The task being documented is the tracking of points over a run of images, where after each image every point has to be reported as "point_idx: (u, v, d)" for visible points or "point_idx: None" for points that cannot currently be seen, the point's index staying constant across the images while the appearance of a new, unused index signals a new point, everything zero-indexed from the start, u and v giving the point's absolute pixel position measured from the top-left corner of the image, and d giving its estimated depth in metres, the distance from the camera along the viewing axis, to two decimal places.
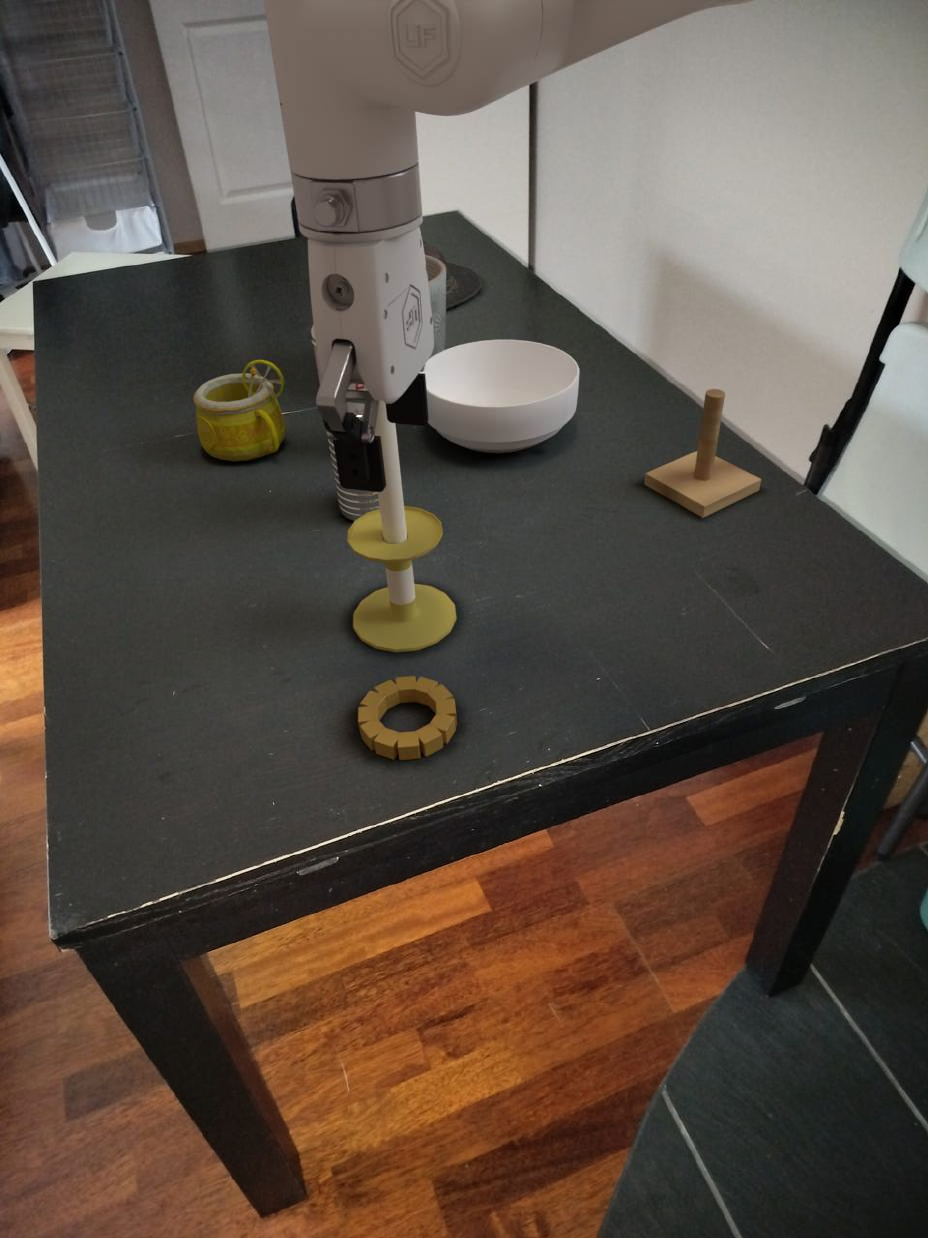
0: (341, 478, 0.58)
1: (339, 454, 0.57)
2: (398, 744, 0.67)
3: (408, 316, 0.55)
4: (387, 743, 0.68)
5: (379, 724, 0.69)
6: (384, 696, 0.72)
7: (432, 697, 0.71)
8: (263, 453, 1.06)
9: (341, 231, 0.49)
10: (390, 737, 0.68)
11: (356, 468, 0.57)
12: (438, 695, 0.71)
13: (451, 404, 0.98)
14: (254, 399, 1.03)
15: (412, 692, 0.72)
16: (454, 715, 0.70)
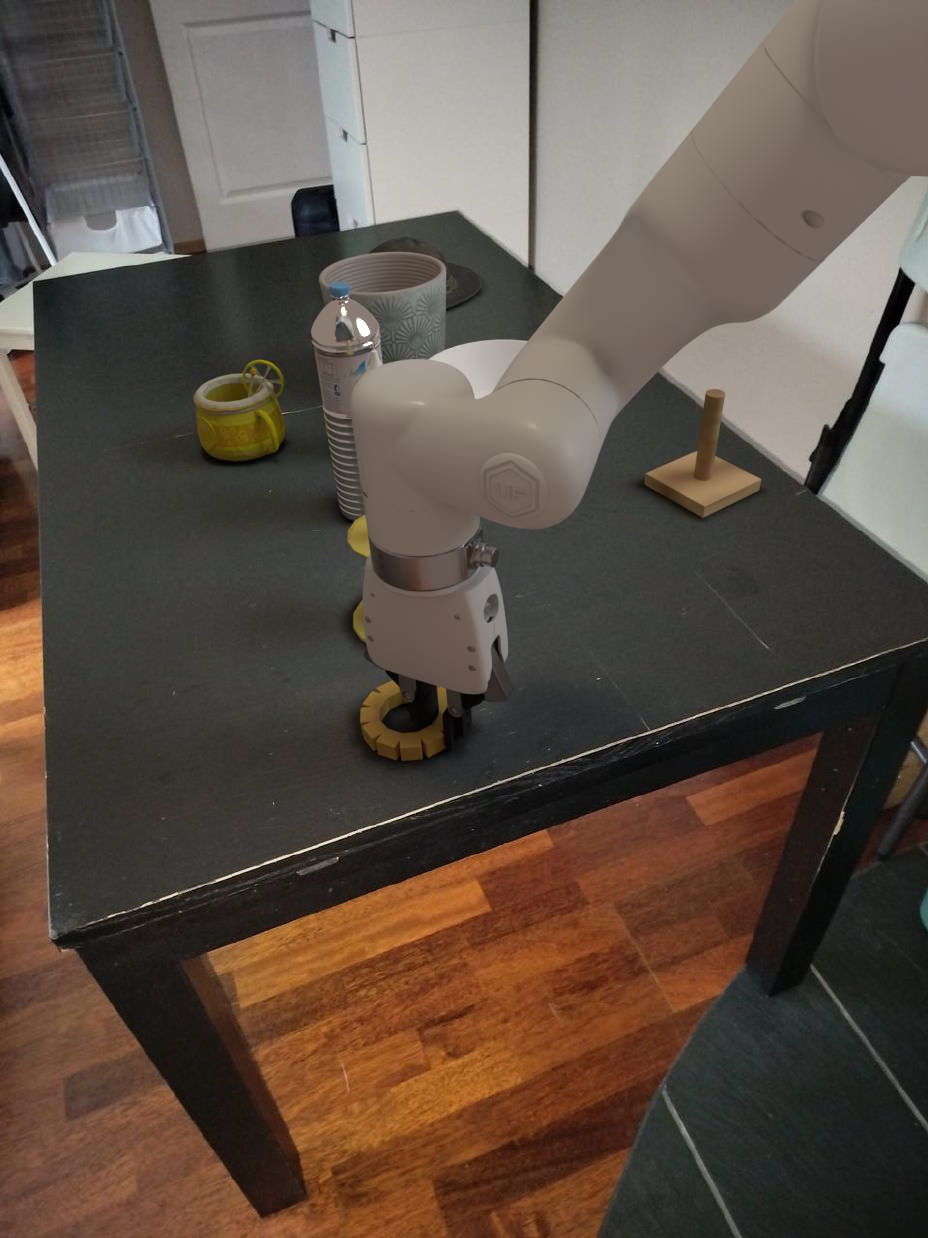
0: (452, 744, 0.68)
1: (451, 727, 0.67)
2: (400, 745, 0.67)
3: None
4: (389, 744, 0.67)
5: (381, 725, 0.69)
6: (386, 697, 0.71)
7: None
8: (263, 453, 1.06)
9: (477, 566, 0.58)
10: (392, 738, 0.68)
11: (467, 722, 0.68)
12: (440, 696, 0.71)
13: None
14: (254, 399, 1.03)
15: None
16: None
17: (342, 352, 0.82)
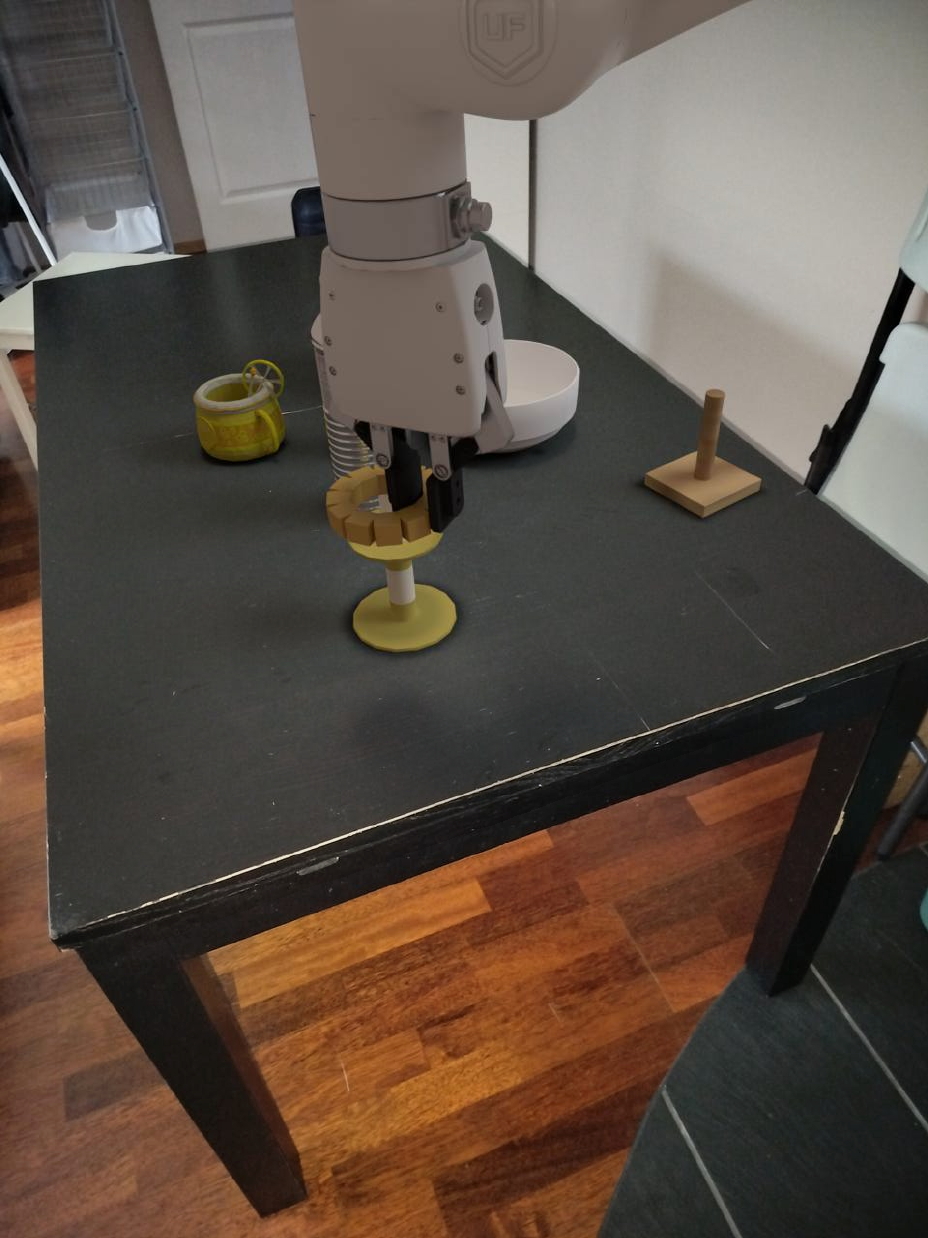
0: (439, 524, 0.55)
1: (438, 498, 0.53)
2: (374, 523, 0.54)
3: None
4: (361, 523, 0.54)
5: (352, 506, 0.56)
6: (359, 481, 0.58)
7: None
8: (263, 453, 1.06)
9: (465, 240, 0.44)
10: (365, 517, 0.55)
11: (458, 495, 0.54)
12: (425, 478, 0.58)
13: None
14: (254, 399, 1.03)
15: None
16: None
17: None
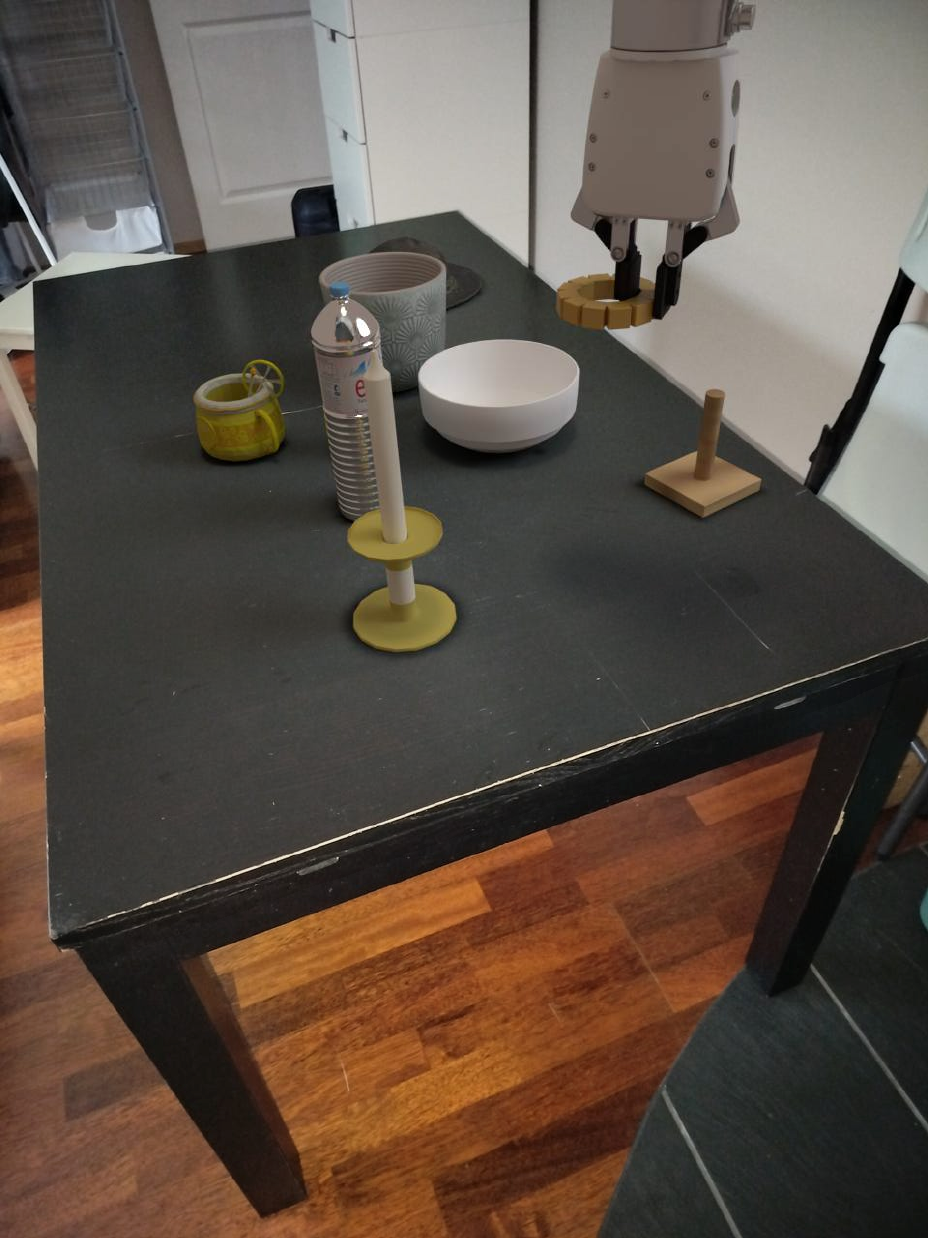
0: (662, 310, 0.65)
1: (664, 285, 0.64)
2: (609, 307, 0.64)
3: None
4: (598, 307, 0.64)
5: (584, 298, 0.66)
6: (581, 284, 0.69)
7: None
8: (263, 453, 1.06)
9: None
10: (599, 304, 0.65)
11: (678, 286, 0.65)
12: None
13: (451, 404, 0.98)
14: (254, 399, 1.03)
15: (608, 284, 0.69)
16: None
17: (342, 352, 0.82)
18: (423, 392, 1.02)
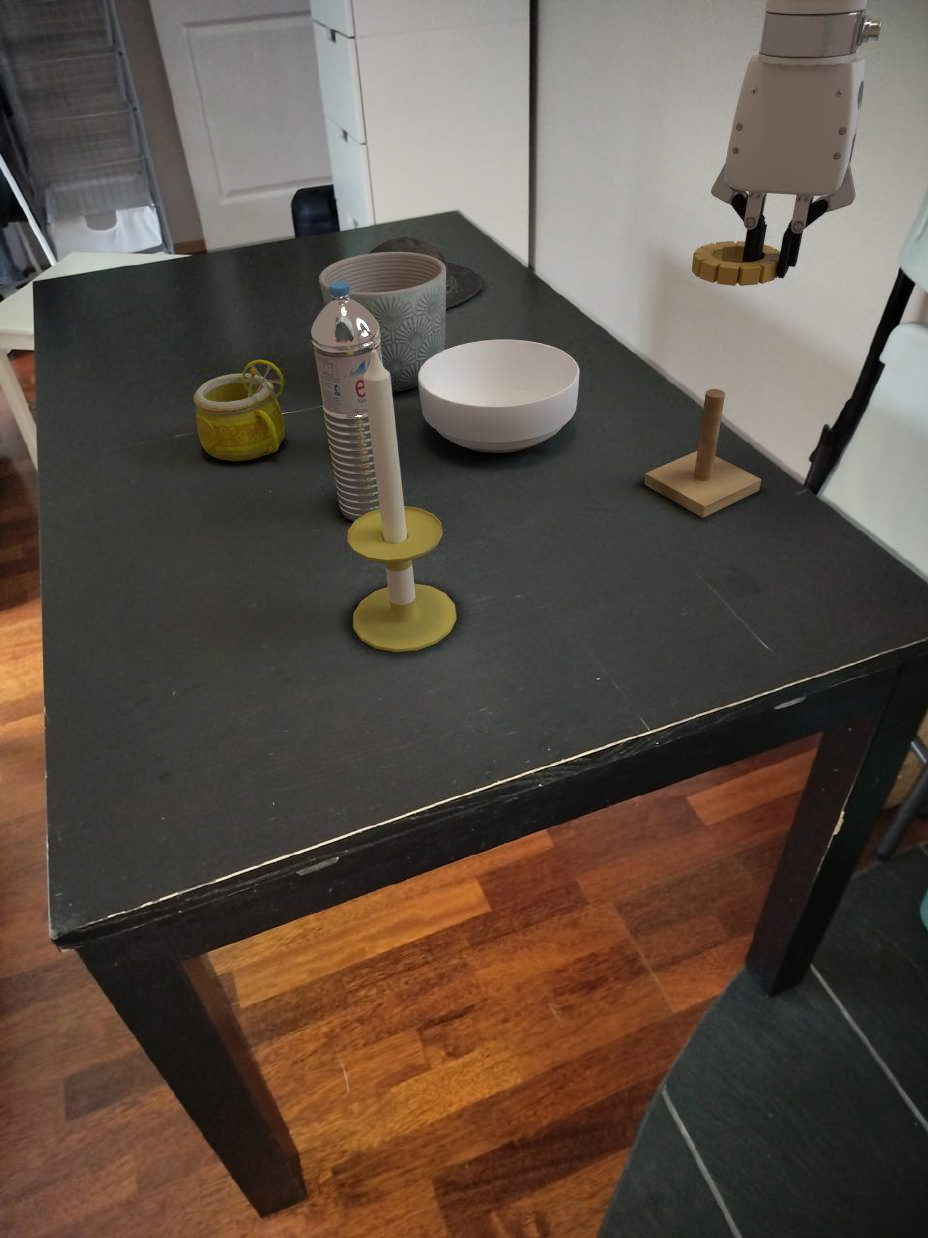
0: (784, 270, 0.79)
1: (789, 248, 0.78)
2: (742, 267, 0.78)
3: None
4: (732, 266, 0.78)
5: (718, 260, 0.80)
6: (713, 249, 0.82)
7: None
8: (263, 453, 1.06)
9: (856, 49, 0.68)
10: (733, 264, 0.79)
11: (798, 250, 0.79)
12: None
13: (451, 404, 0.98)
14: (254, 399, 1.03)
15: (734, 250, 0.83)
16: None
17: (342, 352, 0.82)
18: (423, 392, 1.02)
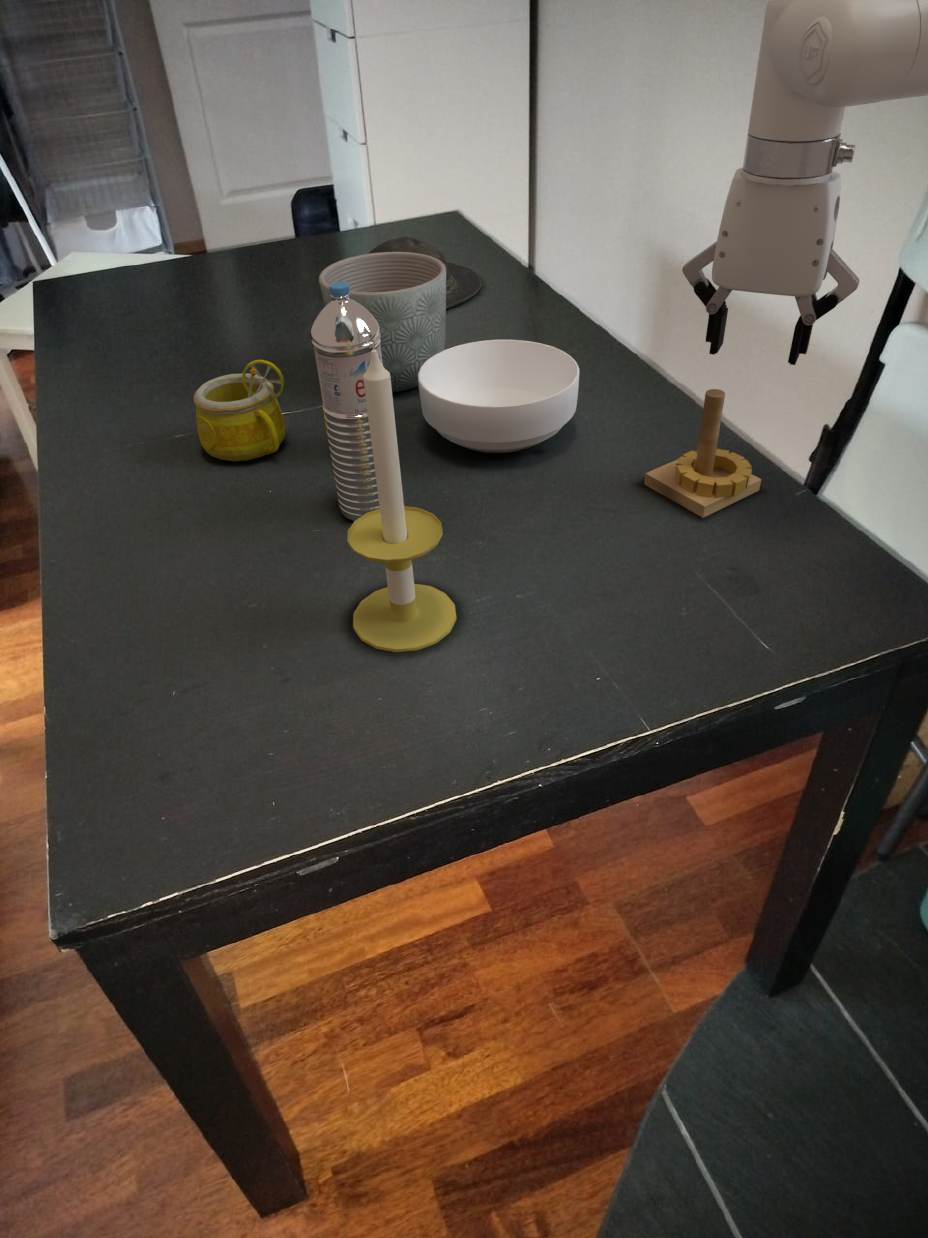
0: (796, 357, 0.83)
1: (800, 338, 0.82)
2: (717, 483, 0.92)
3: None
4: (708, 483, 0.92)
5: (697, 473, 0.94)
6: (693, 459, 0.96)
7: (729, 459, 0.96)
8: (263, 453, 1.06)
9: (832, 168, 0.74)
10: (709, 480, 0.93)
11: (809, 339, 0.83)
12: (734, 457, 0.96)
13: (451, 404, 0.98)
14: (254, 399, 1.03)
15: None
16: (750, 469, 0.95)
17: (342, 352, 0.82)
18: (423, 392, 1.02)
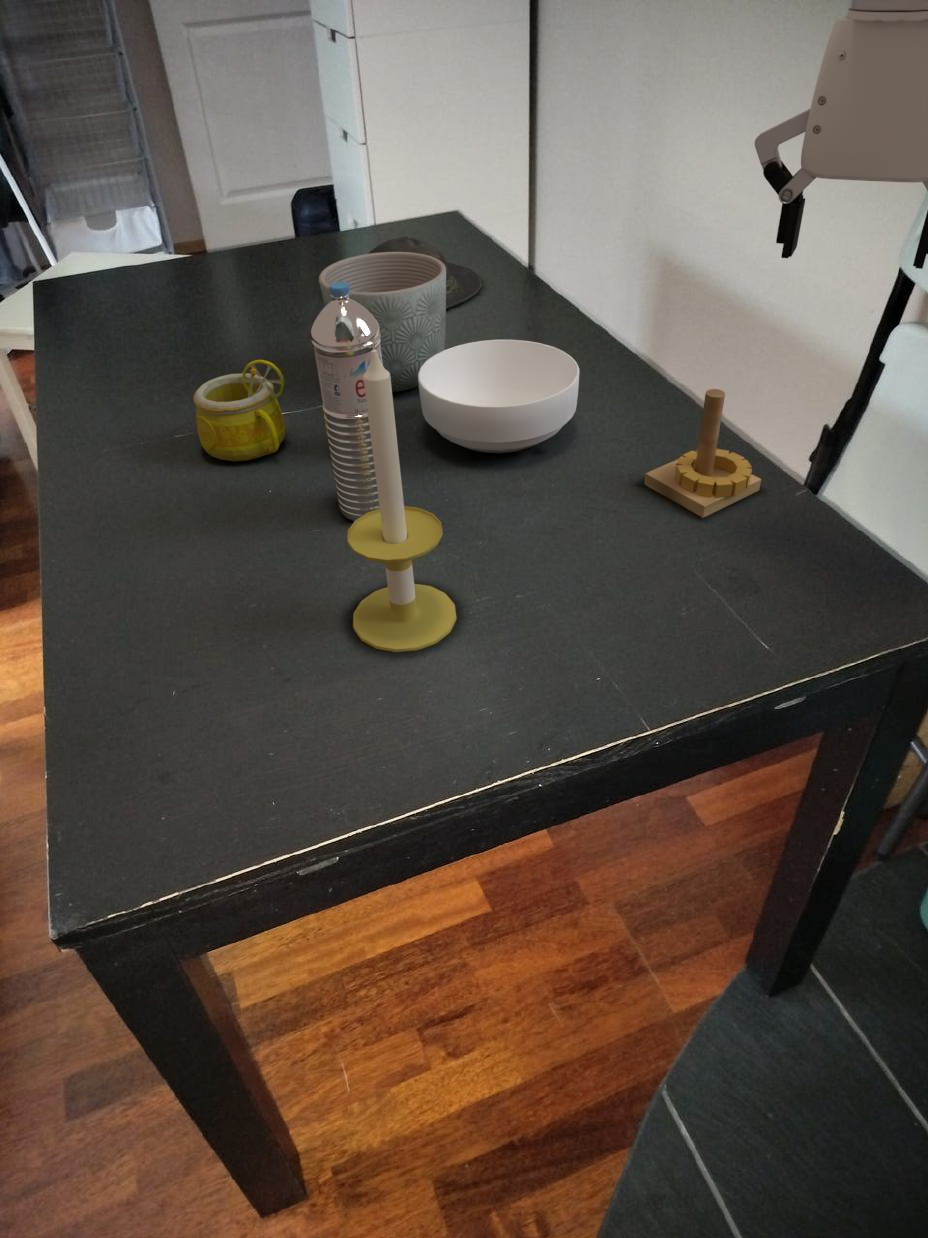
0: None
1: None
2: (717, 483, 0.92)
3: None
4: (708, 483, 0.92)
5: (697, 473, 0.94)
6: (693, 459, 0.96)
7: (729, 459, 0.96)
8: (263, 453, 1.06)
9: None
10: (709, 480, 0.93)
11: None
12: (734, 457, 0.96)
13: (451, 404, 0.98)
14: (254, 399, 1.03)
15: None
16: (750, 469, 0.95)
17: (342, 352, 0.82)
18: (423, 392, 1.02)
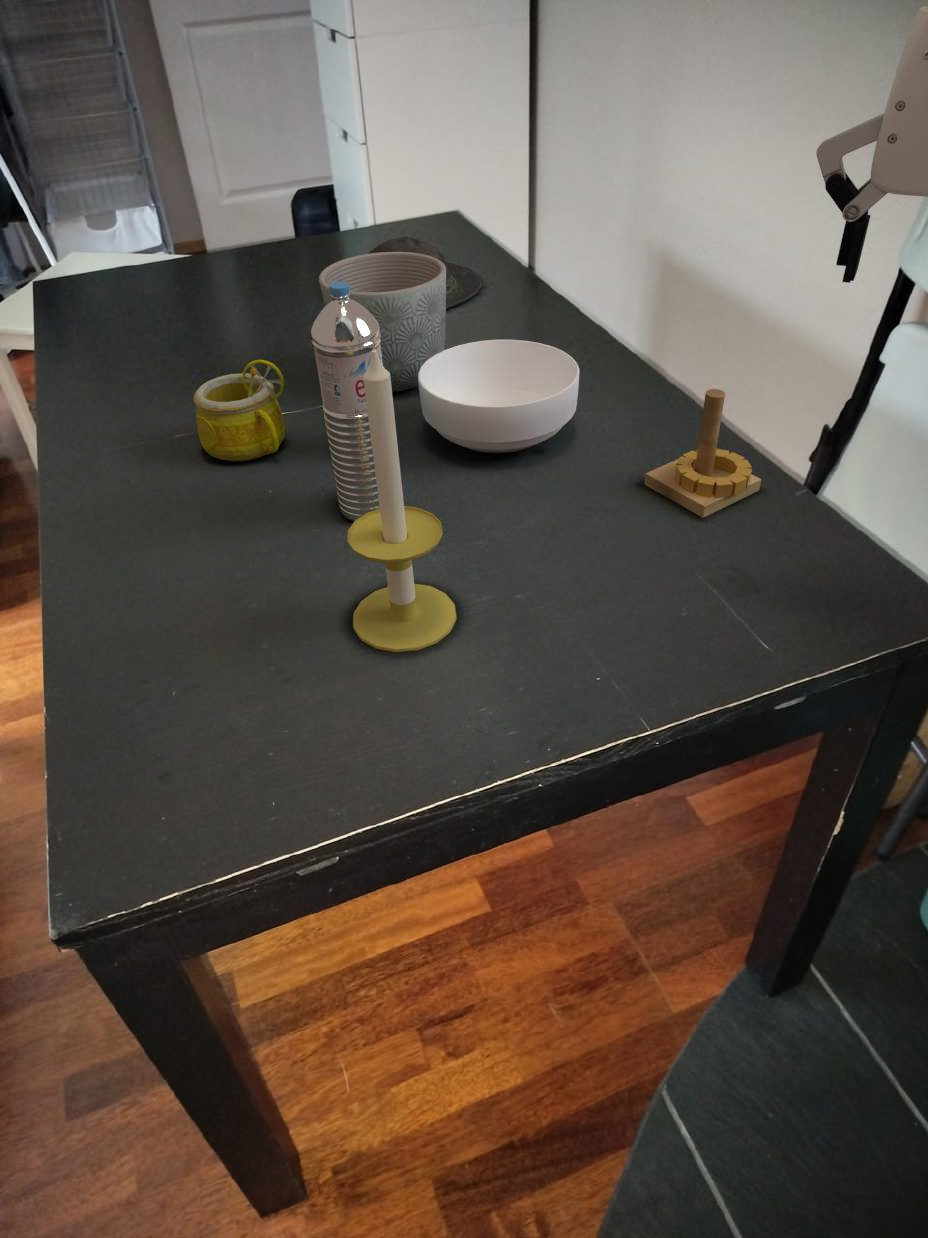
0: None
1: None
2: (717, 483, 0.92)
3: None
4: (708, 483, 0.92)
5: (697, 473, 0.94)
6: (693, 459, 0.96)
7: (729, 459, 0.96)
8: (263, 453, 1.06)
9: None
10: (709, 480, 0.93)
11: None
12: (734, 457, 0.96)
13: (451, 404, 0.98)
14: (254, 399, 1.03)
15: None
16: (750, 469, 0.95)
17: (342, 352, 0.82)
18: (423, 392, 1.02)
